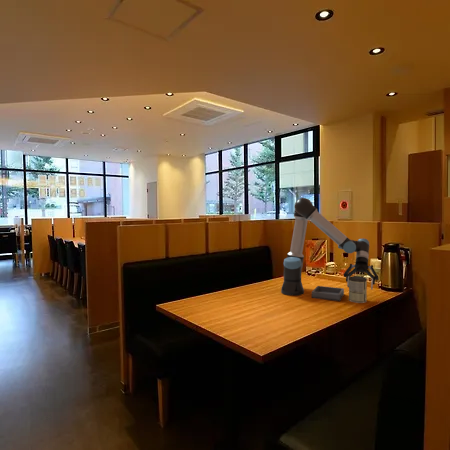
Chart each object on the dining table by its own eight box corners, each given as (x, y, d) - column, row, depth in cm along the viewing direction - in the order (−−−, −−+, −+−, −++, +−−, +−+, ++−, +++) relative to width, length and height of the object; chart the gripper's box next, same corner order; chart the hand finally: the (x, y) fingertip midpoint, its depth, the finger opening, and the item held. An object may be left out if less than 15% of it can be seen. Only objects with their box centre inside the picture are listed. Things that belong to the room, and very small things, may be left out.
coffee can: (346, 298, 201) (346, 276, 200) (363, 298, 200) (363, 276, 199) (351, 302, 191) (351, 279, 190) (369, 303, 190) (369, 280, 189)
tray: (311, 297, 202) (311, 291, 202) (317, 291, 217) (317, 285, 217) (339, 301, 194) (339, 294, 194) (343, 294, 209) (343, 288, 209)
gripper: (383, 264, 204) (382, 292, 192) (342, 261, 216) (339, 288, 204) (383, 257, 199) (382, 286, 187) (341, 254, 211) (337, 282, 199)
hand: (359, 287), depth 195 cm, fingers open, 13 cm apart
